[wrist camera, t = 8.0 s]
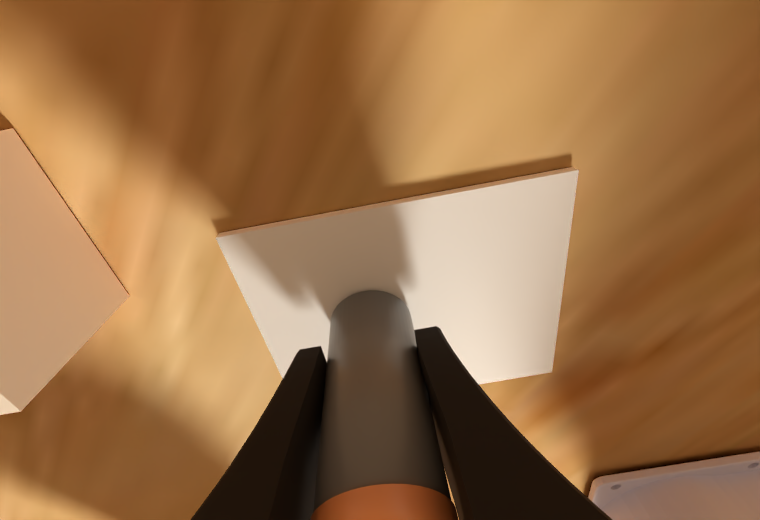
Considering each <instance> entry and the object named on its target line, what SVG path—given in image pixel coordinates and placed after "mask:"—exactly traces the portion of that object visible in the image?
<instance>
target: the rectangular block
mask: <svg viewBox="0 0 760 520" xmlns="http://www.w3.org/2000/svg"><path fill="white" fill-rule="evenodd" d="M128 298H129V295H128V293H127V292H126V290H125V289H124V287H123V286H122V284H121V283H120V282H119V280H118V279H117V277H116V276H115V274H114V273H113V271H112V270H111V269H110V267H109V266H108V264H107V263H106V261H105V260H104V258H103V257H102V256H101V254H100V253H99V251H98V250H97V248H96V247H95V246H94V244H93V243H92V241H91V240H90V238H89V237H88V235H87V234H86V233H85V231H84V230H83V228H82V227H81V225H80V224H79V222H78V221H77V220H76V218H75V217H74V215H73V214H72V212H71V211H70V209H69V208H68V207H67V205H66V204H65V202H64V201H63V199H62V198H61V196H60V195H59V194H58V192H57V191H56V189H55V188H54V186H53V185H52V183H51V182H50V181H49V179H48V178H47V176H46V175H45V173H44V172H43V171H42V169H41V168H40V166H39V165H38V163H37V162H36V160H35V159H34V158H33V156H32V155H31V153H30V152H29V150H28V149H27V147H26V146H25V145H24V143H23V142H22V140H21V139H20V137H19V136H18V134H17V133H16V132H15V130H14V129H13V128H11V129H6V130H1V131H0V415H3V414H9V413H15V412H21V411H22V410H23V409H24V408H25V407H26V406H27V405H28V404H29V402H30V401H31V400H32V399H33V398H34V397H35V396H36V395H37V394H38V393H39V392H40V391H41V390H42V389H43V388H44V387H45V386H46V384H47V383H48V382H49V381H50V380H51V379H52V378H53V377H54V376H55V375H56V374H57V373H58V372H59V371H60V370H61V369H62V367H63V366H64V365H65V364H66V363H67V362H68V361H69V360H70V359H71V358H72V357H73V356H74V355H75V354H76V353H77V352H78V351H79V349H80V348H81V347H82V346H83V345H84V344H85V343H86V342H87V341H88V340H89V339H90V338H91V337H92V336H93V335H94V334H95V332H96V331H97V330H98V329H99V328H100V327H101V326H102V325H103V324H104V323H105V322H106V321H107V320H108V319H109V318H110V317H111V316H112V314H113V313H114V312H115V311H116V310H117V309H118V308H119V307H120V306H121V305H122V304H123V303H124V302H125V301H126V300H127V299H128Z"/></svg>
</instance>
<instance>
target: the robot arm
mask: <svg viewBox="0 0 760 520" xmlns="http://www.w3.org/2000/svg"><path fill="white" fill-rule="evenodd" d="M414 332H415V339H416V345H417V350H418V355H419V360H420V364H421V369H422V373H423V378H424V381H425V385H426V388H427V392H428V396H429V401H430V406H431V410H432V415H433V419H434V424H435V428H436V433H437V438H438V442H439V447H440V451H441V456H442V460H443V465H444V468H445V471H446V475H447V478H448V482H449V485H450V488H451V492H452V495H453V498H454V502H455V505H456V509H457V513H458V517H459V520H760V451H758V452H752V453H746V454H739V455H733V456H727V457H720V458H714V459H708V460H701V461H695V462H689V463H682V464H676V465H669V466H663V467H657V468H650V469H644V470H638V471H631V472H625V473H619V474H612V475H606V476H601V477H598V478H596V479H595V480H594V481H593V482H592V486H591V489H590V492H589V496H588V498H587V497H586V496H585V495H584V494H583V493H582V492H581V491H580V490H578V489H577V488H576V487H575V486H574V485H573V484H572V483H571V482H570V481H569V480H568V479H567V478H565V477H564V476H563V475H562V474H561V473H560V472H559V471H558V470H557V469H556V468H555V467H554V466H553V465H552V464H551V463H550V462H549V461H548V460H547V459H546V458H545V457H544V456H543V455H542V454H541V453H540V452H539V451H538V450H537V449H536V448H535V447H534V446H533V445H532V444H531V443H530V442H529V441H528V440H527V439H526V438H525V437H524V436H523V435H522V434H521V433H520V432H519V431H518V430H517V429H516V428H515V426H514V425H513V424H512V423H511V422H510V421H509V420H508V419H507V418H506V416H505V415H504V414H503V413H502V412H501V411H500V410H499V409H498V407H497V406H496V405H495V404H494V403H493V402H492V400H491V399H490V398H489V397H488V396H487V395H486V393H485V392H484V391H483V390H482V388H481V387H480V386H479V385H478V383H477V382H476V381H475V379H474V378H473V377H472V376H471V374H470V373H469V372H468V370H467V369H466V368H465V366H464V365H463V364H462V362H461V361H460V359H459V358H458V357H457V355H456V354H455V352H454V351H453V349H452V348H451V346H450V345H449V343H448V341H447V340H446V338H445V336H444V335H443V333H442V331H441V329H440V328H439V327H437V326H434V327H428V328H422V329H416V330H414ZM326 367H327V362H326V359H325V356H324V353H323V350H322V348H321V346H317V347H311V348H306V349H300V350H299V351H298V352H297V353H296V355H295V357H294V359H293V361H292V363H291V365H290V367H289V368H288V370H287V372H286V374H285V376H284V378H283V380H282V381H281V383H280V385H279V387H278V389H277V390H276V392H275V394H274V396H273V397H272V399H271V401H270V403H269V404H268V406H267V408H266V409H265V411H264V413H263V414H262V416H261V418H260V420H259V421H258V423H257V425H256V426H255V428H254V429H253V431H252V433H251V434H250V436H249V437H248V439H247V440H246V442H245V443H244V445H243V446H242V448H241V450H240V451H239V453H238V454H237V456H236V457H235V459H234V460H233V462H232V463H231V465H230V466H229V468H228V469H227V471H226V472H225V473H224V475H223V476H222V478H221V479H220V481H219V482H218V483H217V485H216V486H215V488H214V489H213V490H212V492H211V493H210V494H209V496H208V497H207V499H206V500H205V501H204V503H203V504H202V505H201V507H200V508H199V509H198V511H197V512H196V513H195V515H194V516H193V517H192V518H191V520H310V518H311V516H312V514H313V509H314V498H315V487H316V476H317V465H318V454H319V443H320V433H321V422H322V411H323V400H324V389H325V378H326Z"/></svg>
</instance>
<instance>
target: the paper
mask: <svg viewBox="0 0 760 520" xmlns="http://www.w3.org/2000/svg"><path fill="white" fill-rule="evenodd" d="M578 172H579V170H578V169H576V168H574V167H569V168H564V169H558V170H553V171H548V172H542V173H537V174H532V175H526V176H521V177H516V178H510V179H505V180H500V181H494V182H489V183H484V184H478V185H473V186H468V187H462V188H457V189H452V190H446V191H441V192H436V193H430V194H425V195H420V196H414V197H409V198H403V199H398V200H393V201H387V202H382V203H377V204H371V205H366V206H361V207H355V208H350V209H345V210H339V211H334V212H329V213H323V214H318V215H313V216H307V217H302V218H297V219H291V220H286V221H281V222H275V223H270V224H265V225H259V226H254V227H248V228H243V229H238V230H232V231H227V232H222V233H219V234H218V235H217V237H216V240H217V242H218V244H219V246H220V248H221V250H222V252H223V254H224V256H225V259H226V261H227V263H228V265H229V267H230V269H231V271H232V273H233V275H234V277H235V280H236V282H237V284H238V286H239V288H240V290H241V292H242V294H243V296H244V298H245V301H246V303H247V305H248V307H249V309H250V311H251V313H252V315H253V317H254V319H255V322H256V324H257V326H258V328H259V330H260V332H261V334H262V336H263V338H264V340H265V343H266V345H267V347H268V349H269V351H270V353H271V355H272V357H273V359H274V361H275V364H276V366H277V368H278V370H279V372H280V374H281V376H282V378H284V376H285V374H286V372H287V370H288V368H289V367H290V365H291V363H292V361H293V359H294V357H295V355H296V353H297V352H298V351H299V350H300V349H306V348H311V347H317V346H321V348H322V350H323V353H324V356H325V359H326V362H327V356H328V345H329V334H330V323H331V316H332V313H333V311H334V309H335V308H336V306H337V305H338V304H339V303H340V302H341V301H342V300H344V299H345V298H347V297H348V296H350V295H352V294H355V293H358V292H362V291H368V290H377V291H384V292H387V293H390V294H393V295H395V296H396V297H398V298H400V299H401V300H402V301H403V302H404V303H405V304H406V306H407V307H408V309H409V311H410V314H411V319H412V323H413V328H414V330H416V329H422V328H428V327H434V326H437V327H439V328H440V329H441V331H442V333H443V335H444V336H445V338H446V340H447V341H448V343H449V345H450V346H451V348H452V349H453V351H454V352H455V354H456V355H457V357H458V358H459V359H460V361H461V362H462V364H463V365H464V366H465V368H466V369H467V370H468V372H469V373H470V374H471V376H472V377H473V378H474V379H475V381H476V382H477V383H478V384H484V383H490V382H496V381H502V380H508V379H514V378H520V377H526V376H532V375H538V374H544V373H550V372H552V369H553V361H554V353H555V346H556V338H557V331H558V323H559V316H560V308H561V301H562V293H563V285H564V278H565V270H566V263H567V255H568V248H569V240H570V232H571V225H572V217H573V210H574V202H575V195H576V187H577V180H578Z"/></svg>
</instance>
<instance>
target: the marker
mask: <svg viewBox="0 0 760 520" xmlns="http://www.w3.org/2000/svg"><path fill="white" fill-rule="evenodd" d="M310 520H458V516H457V512H456V507H455V506H454V504H453V502H452V501H451V497H450V493H449V488H448V483H447V479H446V474H445V470H444V465H443V460H442V456H441V451H440V447H439V442H438V438H437V433H436V428H435V424H434V419H433V415H432V410H431V406H430V401H429V396H428V392H427V388H426V385H425V381H424V378H423V373H422V369H421V364H420V360H419V355H418V350H417V345H416V339H415V332H414V328H413V323H412V319H411V314H410V311H409V309H408V307H407V306H406V304H405V303H404V302H403V301H402V300H401V299H400V298H398V297H396V296H395V295H393V294H390V293H387V292H384V291H377V290H368V291H362V292H358V293H355V294H352V295H350V296H348V297H347V298H345V299H344V300H342V301H341V302H340V303H339V304H338V305H337V306H336V308H335V309H334V311H333V313H332V316H331V323H330V334H329V345H328V356H327V367H326V378H325V389H324V400H323V411H322V422H321V433H320V443H319V454H318V465H317V476H316V487H315V498H314V509H313V514H312V516H311V518H310Z"/></svg>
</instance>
